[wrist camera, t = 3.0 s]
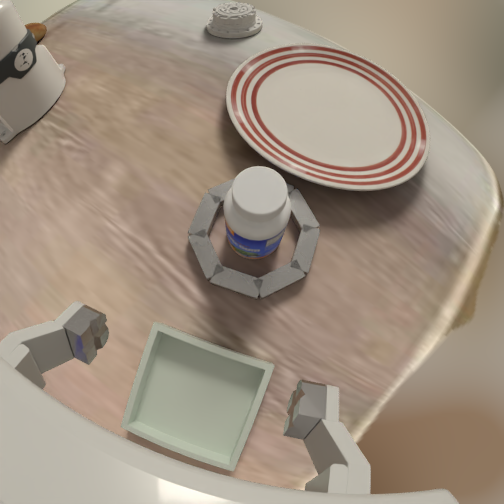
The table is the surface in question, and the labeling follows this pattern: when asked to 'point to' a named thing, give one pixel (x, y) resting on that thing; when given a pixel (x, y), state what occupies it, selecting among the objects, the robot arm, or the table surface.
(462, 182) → the table surface
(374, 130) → the dinner plate
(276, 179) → the pill bottle
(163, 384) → the bin
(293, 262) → the collar
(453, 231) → the table surface
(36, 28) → the bread roll
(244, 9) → the mechanical component
